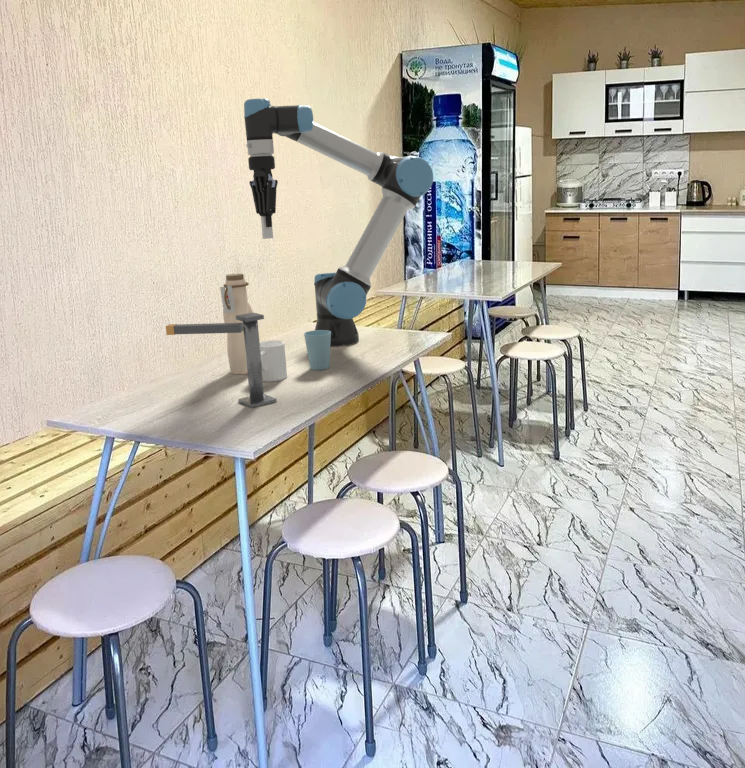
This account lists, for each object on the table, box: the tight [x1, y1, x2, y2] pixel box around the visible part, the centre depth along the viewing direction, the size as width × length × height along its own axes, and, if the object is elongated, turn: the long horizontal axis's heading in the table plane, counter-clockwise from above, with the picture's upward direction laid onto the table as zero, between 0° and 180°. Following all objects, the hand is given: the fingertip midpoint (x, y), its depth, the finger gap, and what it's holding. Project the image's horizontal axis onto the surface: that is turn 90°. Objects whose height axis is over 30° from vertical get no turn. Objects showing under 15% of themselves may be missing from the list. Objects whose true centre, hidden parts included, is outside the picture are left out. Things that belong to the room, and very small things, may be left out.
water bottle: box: [219, 273, 255, 375], centre depth 224 cm, size 10×9×28 cm
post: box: [236, 312, 277, 409], centre depth 194 cm, size 7×7×22 cm
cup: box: [303, 329, 331, 371], centre depth 226 cm, size 8×8×10 cm
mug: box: [259, 340, 288, 383], centre depth 216 cm, size 8×12×10 cm
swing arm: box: [165, 322, 243, 336], centre depth 193 cm, size 19×3×2 cm, turn 83°
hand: (267, 238), depth 233 cm, fingers closed
